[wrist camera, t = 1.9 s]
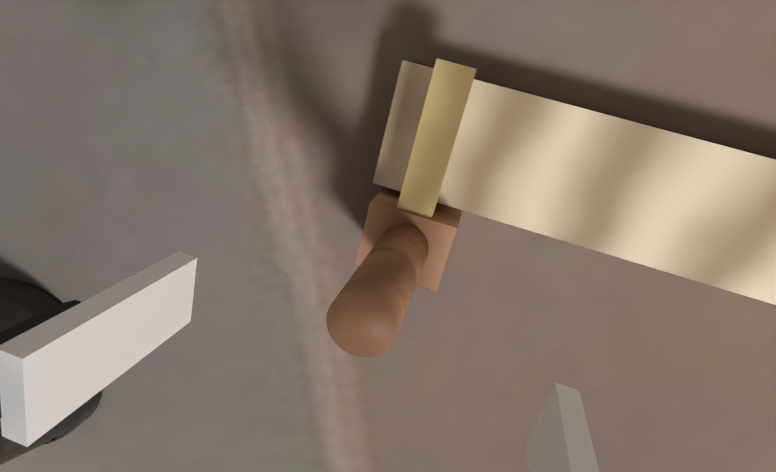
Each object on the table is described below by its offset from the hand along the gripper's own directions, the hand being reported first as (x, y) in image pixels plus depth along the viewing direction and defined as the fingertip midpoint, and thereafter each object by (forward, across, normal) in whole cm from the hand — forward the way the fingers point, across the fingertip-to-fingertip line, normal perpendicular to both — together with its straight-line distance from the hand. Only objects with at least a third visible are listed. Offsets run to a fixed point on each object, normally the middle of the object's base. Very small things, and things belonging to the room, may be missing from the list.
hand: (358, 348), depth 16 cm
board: (+15, +8, +6) cm, 18 cm away
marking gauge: (+15, -1, +4) cm, 15 cm away
